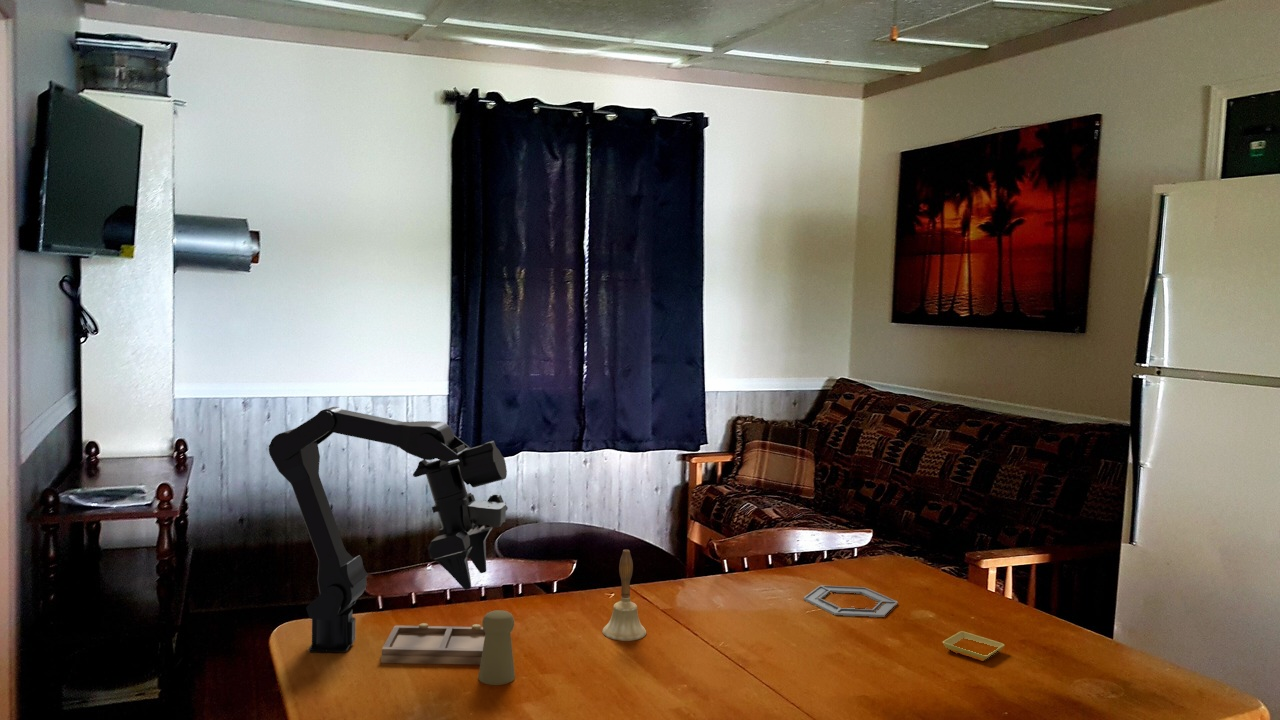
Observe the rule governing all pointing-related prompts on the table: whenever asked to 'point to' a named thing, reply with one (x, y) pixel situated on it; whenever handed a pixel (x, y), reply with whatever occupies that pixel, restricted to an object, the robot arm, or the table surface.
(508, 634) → the olive pepper mill
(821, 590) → the grey hexagonal frame
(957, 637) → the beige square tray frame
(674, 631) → the table surface
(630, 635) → the hand bell
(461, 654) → the divided tray
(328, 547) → the robot arm
